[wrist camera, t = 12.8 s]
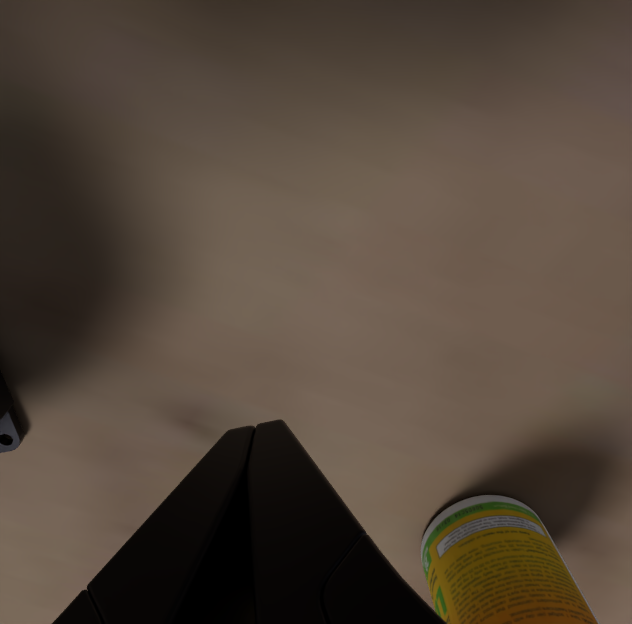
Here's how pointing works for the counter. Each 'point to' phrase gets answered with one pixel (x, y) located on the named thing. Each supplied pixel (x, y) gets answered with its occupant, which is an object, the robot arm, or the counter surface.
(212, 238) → the counter surface
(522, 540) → the supplement bottle
